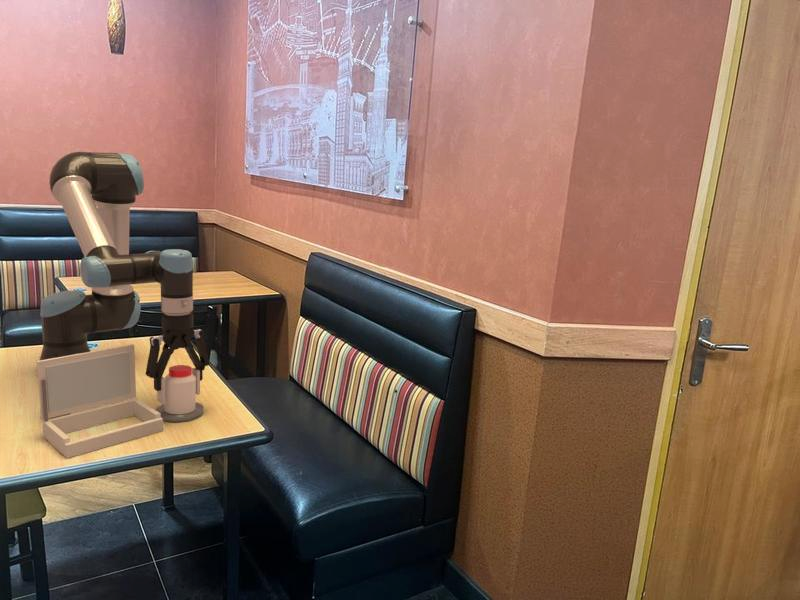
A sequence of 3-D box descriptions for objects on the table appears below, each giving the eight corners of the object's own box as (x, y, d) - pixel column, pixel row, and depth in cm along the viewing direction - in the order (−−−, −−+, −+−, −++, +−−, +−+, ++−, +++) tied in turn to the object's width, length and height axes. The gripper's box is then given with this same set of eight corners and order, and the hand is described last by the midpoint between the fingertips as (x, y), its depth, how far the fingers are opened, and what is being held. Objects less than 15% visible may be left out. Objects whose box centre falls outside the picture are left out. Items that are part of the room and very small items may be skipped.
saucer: (146, 412, 162) (145, 408, 162) (188, 400, 171) (188, 397, 171) (169, 426, 155) (169, 423, 154) (212, 414, 163) (212, 410, 163)
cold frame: (42, 435, 146) (36, 361, 142) (135, 411, 162) (132, 344, 158) (67, 458, 136) (62, 378, 132) (163, 430, 152) (161, 358, 148)
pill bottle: (185, 416, 158) (186, 374, 156) (157, 411, 160) (157, 370, 158) (201, 406, 166) (201, 365, 164) (174, 401, 167) (174, 362, 165)
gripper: (142, 321, 147) (145, 412, 152) (223, 309, 162) (224, 391, 167) (127, 315, 152) (131, 403, 156) (208, 303, 167) (209, 383, 172)
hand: (179, 397), depth 162 cm, fingers open, 9 cm apart
